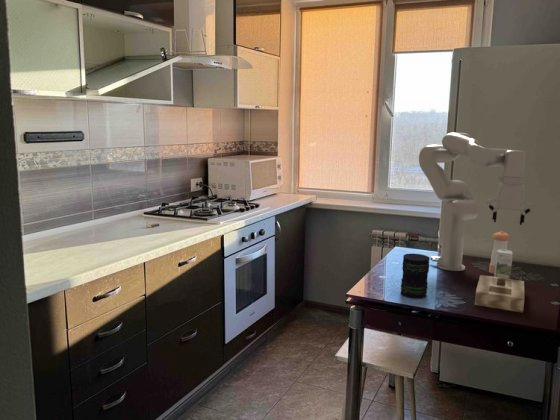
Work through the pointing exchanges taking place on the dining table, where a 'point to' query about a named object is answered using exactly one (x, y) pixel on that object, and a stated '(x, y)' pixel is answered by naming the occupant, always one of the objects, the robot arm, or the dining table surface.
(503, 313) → the dining table surface
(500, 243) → the salt shaker
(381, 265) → the dining table surface
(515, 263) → the dining table surface
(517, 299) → the socket block
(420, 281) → the storage jar
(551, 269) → the dining table surface
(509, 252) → the syrup box
